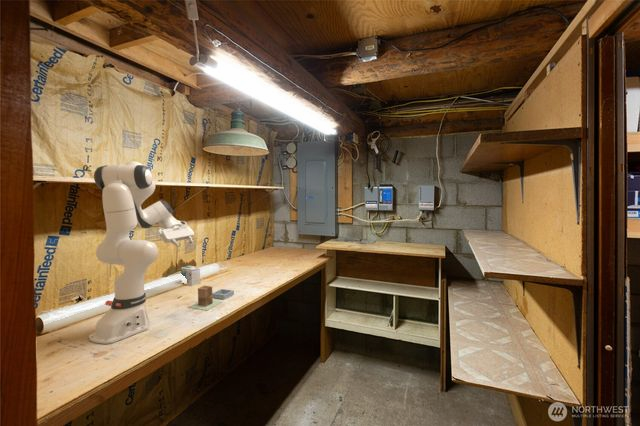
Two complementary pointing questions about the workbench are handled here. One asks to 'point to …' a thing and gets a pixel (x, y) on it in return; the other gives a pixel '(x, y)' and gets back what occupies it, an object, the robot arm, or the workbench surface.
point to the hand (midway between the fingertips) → (185, 244)
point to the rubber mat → (206, 306)
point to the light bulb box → (191, 274)
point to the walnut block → (205, 296)
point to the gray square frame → (220, 295)
